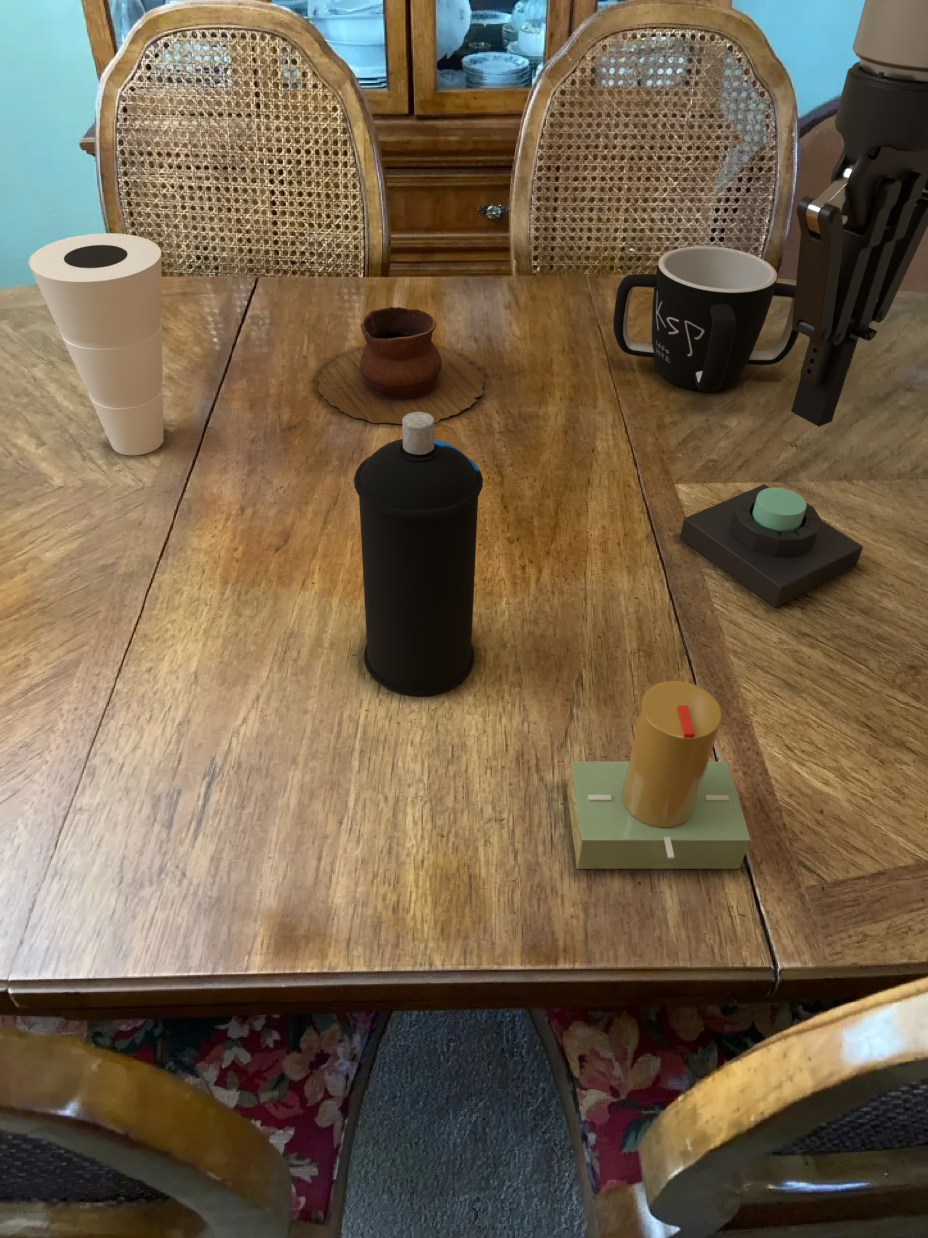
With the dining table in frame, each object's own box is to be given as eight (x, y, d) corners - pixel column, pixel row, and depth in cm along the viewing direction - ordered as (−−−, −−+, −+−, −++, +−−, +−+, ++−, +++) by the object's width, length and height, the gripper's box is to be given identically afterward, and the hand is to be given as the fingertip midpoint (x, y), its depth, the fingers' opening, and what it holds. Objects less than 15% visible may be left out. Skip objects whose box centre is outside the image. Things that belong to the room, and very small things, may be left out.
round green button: (811, 522, 80) (817, 505, 79) (778, 538, 78) (783, 520, 77) (775, 499, 82) (780, 482, 81) (742, 513, 80) (746, 496, 79)
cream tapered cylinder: (66, 431, 94) (14, 246, 82) (172, 404, 99) (137, 225, 87) (99, 484, 87) (48, 291, 76) (210, 452, 92) (179, 266, 80)
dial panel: (714, 775, 64) (724, 743, 62) (745, 888, 58) (757, 857, 55) (564, 774, 64) (569, 743, 62) (578, 888, 57) (584, 857, 55)
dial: (617, 769, 60) (637, 676, 55) (687, 770, 60) (713, 676, 55) (627, 828, 57) (649, 734, 51) (701, 828, 57) (730, 734, 52)
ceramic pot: (303, 420, 97) (296, 355, 92) (332, 341, 110) (327, 281, 106) (481, 430, 96) (484, 365, 92) (488, 350, 110) (491, 289, 105)
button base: (856, 567, 81) (870, 528, 79) (775, 608, 77) (787, 569, 74) (759, 503, 88) (769, 466, 85) (679, 538, 84) (687, 500, 81)
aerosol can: (435, 713, 67) (438, 470, 54) (341, 668, 71) (322, 428, 57) (494, 646, 73) (510, 410, 60) (404, 607, 76) (400, 374, 63)
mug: (593, 360, 108) (606, 254, 100) (697, 329, 115) (717, 227, 107) (693, 424, 98) (717, 312, 90) (801, 386, 105) (832, 278, 97)
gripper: (899, 91, 53) (791, 462, 68) (1034, 67, 58) (906, 415, 74) (793, 64, 57) (714, 417, 73) (928, 44, 63) (828, 376, 78)
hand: (811, 416), depth 73 cm, fingers closed
